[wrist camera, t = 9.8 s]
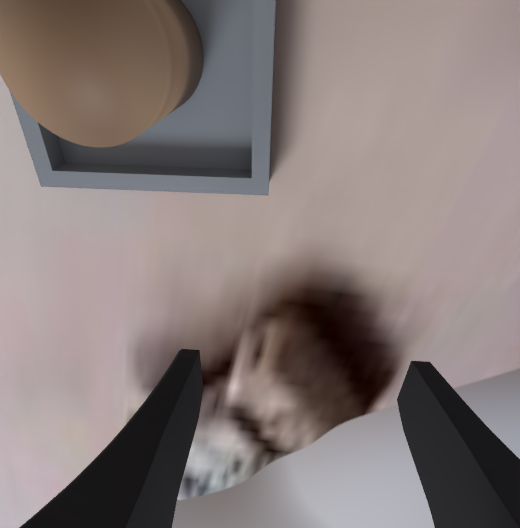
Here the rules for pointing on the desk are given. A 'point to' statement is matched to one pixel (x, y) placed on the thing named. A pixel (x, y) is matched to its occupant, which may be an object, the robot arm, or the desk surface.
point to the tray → (187, 119)
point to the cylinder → (99, 64)
